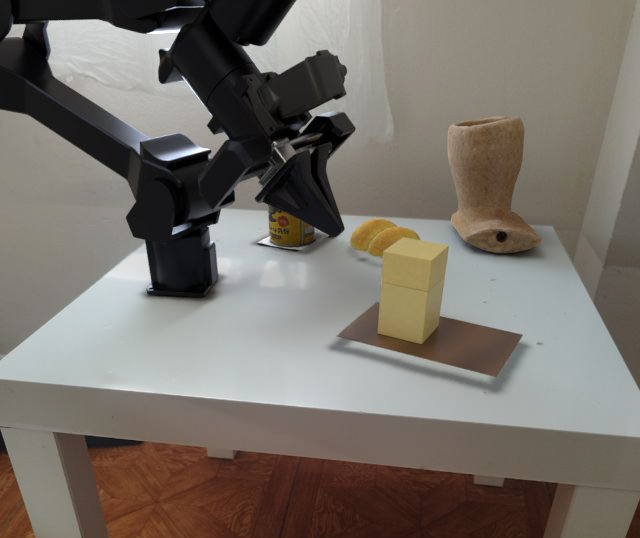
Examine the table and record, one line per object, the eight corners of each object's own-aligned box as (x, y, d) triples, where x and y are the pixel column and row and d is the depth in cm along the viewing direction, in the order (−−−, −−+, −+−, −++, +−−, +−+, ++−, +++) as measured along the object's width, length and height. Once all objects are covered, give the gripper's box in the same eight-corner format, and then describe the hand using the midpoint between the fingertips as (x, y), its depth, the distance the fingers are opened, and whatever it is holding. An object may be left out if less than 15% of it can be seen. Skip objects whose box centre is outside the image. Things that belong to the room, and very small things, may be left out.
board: (335, 347, 57) (335, 335, 56) (375, 312, 64) (376, 301, 63) (494, 389, 51) (496, 376, 51) (520, 345, 58) (523, 334, 57)
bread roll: (389, 271, 73) (392, 238, 71) (339, 251, 79) (340, 219, 76) (435, 256, 78) (438, 224, 75) (384, 238, 83) (386, 208, 81)
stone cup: (431, 221, 90) (444, 106, 81) (513, 222, 90) (535, 108, 81) (445, 256, 77) (462, 126, 69) (540, 258, 77) (569, 128, 69)
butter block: (377, 333, 57) (380, 282, 54) (395, 316, 60) (400, 266, 57) (421, 344, 55) (427, 292, 52) (438, 326, 58) (445, 275, 55)
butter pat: (380, 282, 54) (383, 251, 52) (400, 266, 57) (402, 236, 56) (427, 292, 52) (431, 260, 51) (445, 275, 55) (449, 245, 54)
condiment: (256, 243, 81) (251, 145, 74) (288, 226, 87) (286, 134, 80) (304, 252, 78) (304, 151, 71) (334, 234, 84) (336, 139, 78)
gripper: (214, 13, 42) (353, 202, 44) (340, 10, 55) (441, 155, 57) (144, 129, 49) (265, 286, 51) (269, 102, 63) (361, 227, 65)
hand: (339, 233), depth 56 cm, fingers closed
